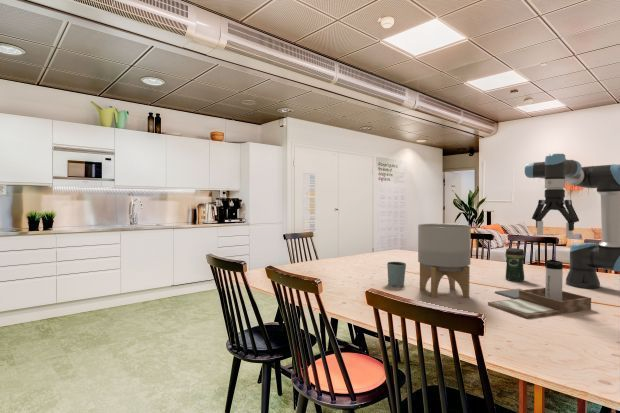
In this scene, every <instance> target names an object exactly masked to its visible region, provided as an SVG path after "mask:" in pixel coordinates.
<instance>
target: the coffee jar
mask: <svg viewBox="0 0 620 413" xmlns="http://www.w3.org/2000/svg"><path fill="white" fill-rule="evenodd" d="M504 255H505V258H506V266H505V267H506V268H505V276H504V277H505V279H506V280H507V281H512V282H523V281H525V269H524V258H525V251H524V249H523V248H516V247H509V248H508V247H507V248H506V250H505V254H504Z"/></svg>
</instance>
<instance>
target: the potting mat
mask: <svg viewBox="0 0 620 413" xmlns="http://www.w3.org/2000/svg"><path fill="white" fill-rule="evenodd" d="M519 290H523V289H521V288H514V289H513V288H512V289H504V290H496V291H494V294H497V295H500V296H504V297H506V298H510V299H519Z"/></svg>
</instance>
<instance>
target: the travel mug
mask: <svg viewBox="0 0 620 413" xmlns="http://www.w3.org/2000/svg"><path fill="white" fill-rule="evenodd" d="M563 270H564V269H563V262H562V261H559V260H557V259H556V260H555V259H548V260H545V287H544V288H545V297H547V298H551V299H554V300H558V301H562V291H563V273H564V272H563Z"/></svg>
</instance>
